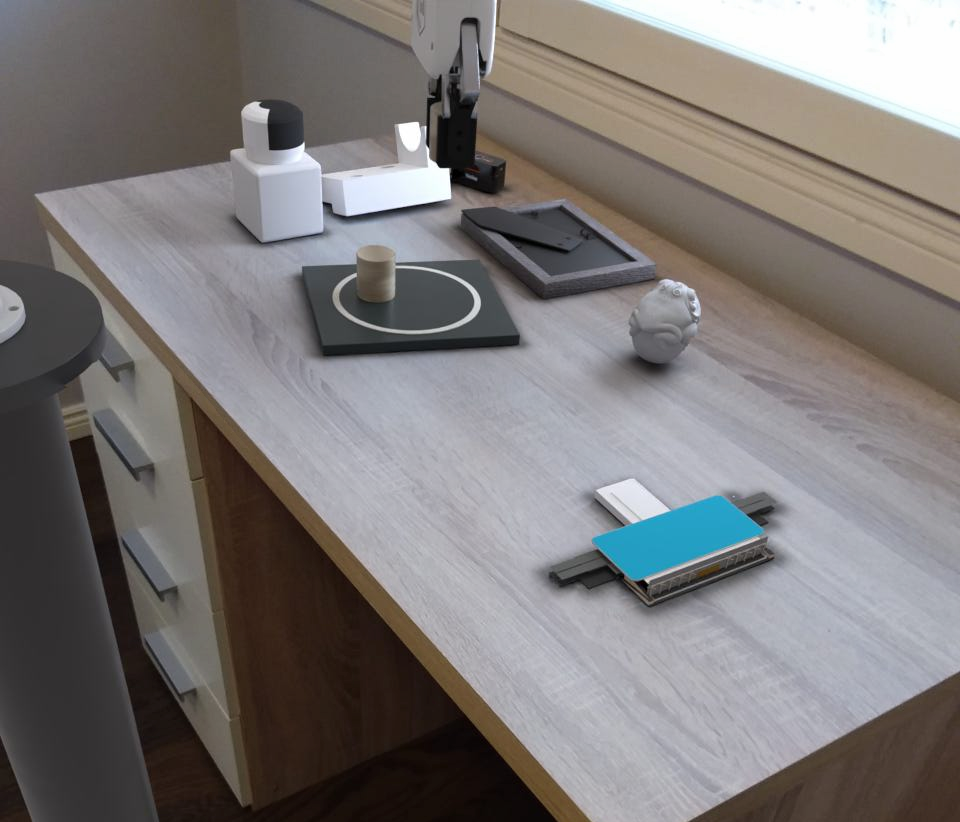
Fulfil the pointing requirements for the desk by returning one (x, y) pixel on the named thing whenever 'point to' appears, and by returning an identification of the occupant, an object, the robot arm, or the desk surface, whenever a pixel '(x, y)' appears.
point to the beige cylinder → (434, 129)
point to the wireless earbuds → (482, 173)
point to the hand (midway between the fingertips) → (449, 155)
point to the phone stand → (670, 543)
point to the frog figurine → (664, 321)
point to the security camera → (276, 174)
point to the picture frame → (556, 247)
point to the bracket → (390, 179)
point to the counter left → (376, 273)
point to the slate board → (409, 309)
